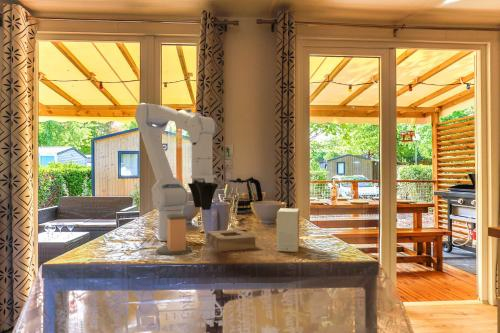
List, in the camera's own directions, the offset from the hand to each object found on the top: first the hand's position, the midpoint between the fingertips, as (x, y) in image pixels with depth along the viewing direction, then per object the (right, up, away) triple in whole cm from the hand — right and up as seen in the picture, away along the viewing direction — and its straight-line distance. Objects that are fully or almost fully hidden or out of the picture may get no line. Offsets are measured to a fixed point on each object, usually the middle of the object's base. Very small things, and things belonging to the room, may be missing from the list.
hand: (202, 208), depth 93 cm
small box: (+24, -11, -2) cm, 26 cm away
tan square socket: (+8, -11, +2) cm, 13 cm away
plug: (-6, -10, -6) cm, 13 cm away
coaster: (-7, -10, -6) cm, 14 cm away
